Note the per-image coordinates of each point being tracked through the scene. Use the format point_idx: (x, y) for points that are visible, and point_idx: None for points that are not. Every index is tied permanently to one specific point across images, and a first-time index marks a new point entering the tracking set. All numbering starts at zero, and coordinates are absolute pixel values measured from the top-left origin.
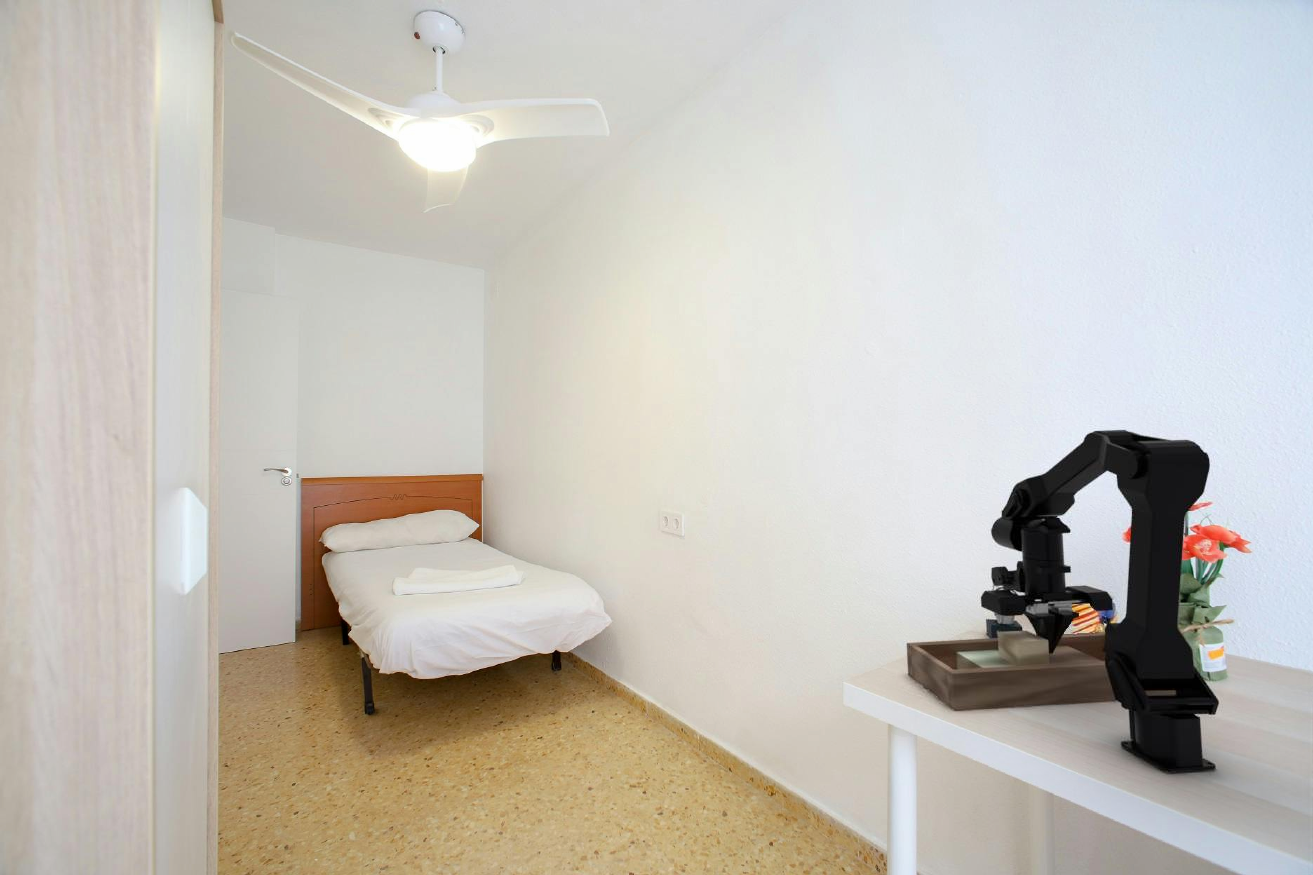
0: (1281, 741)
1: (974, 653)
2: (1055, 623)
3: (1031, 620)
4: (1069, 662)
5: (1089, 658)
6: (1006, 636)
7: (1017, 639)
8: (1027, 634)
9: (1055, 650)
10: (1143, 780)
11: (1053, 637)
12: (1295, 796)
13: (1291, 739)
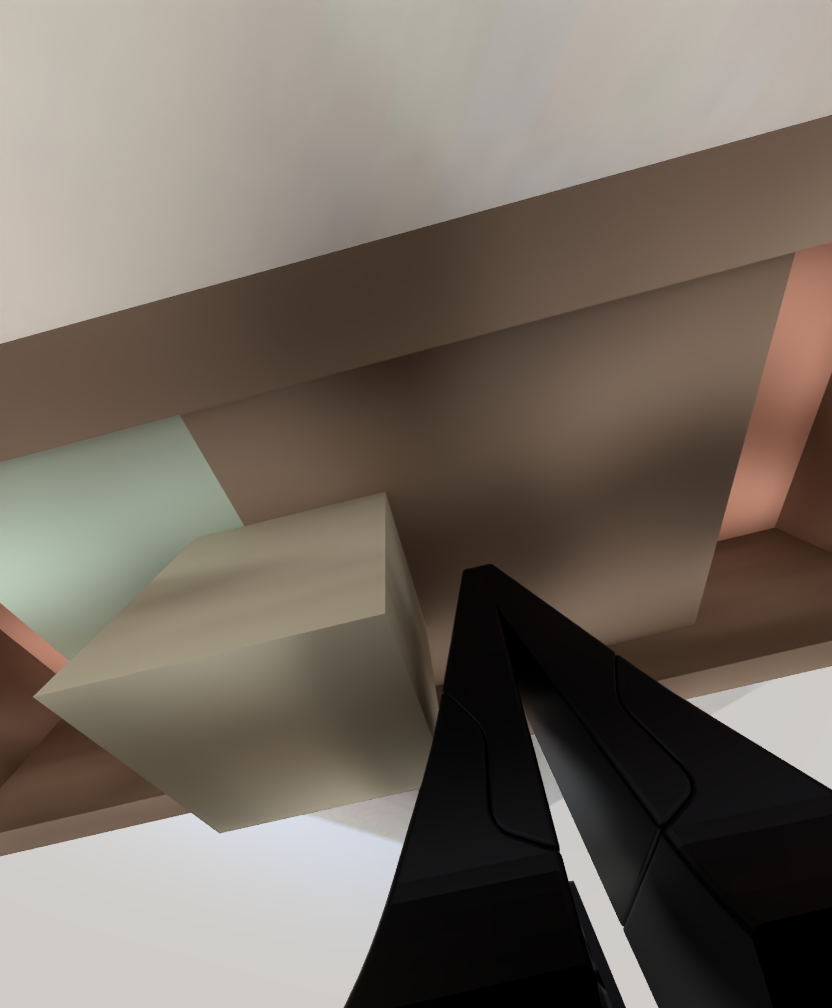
0: (711, 700)
1: (24, 509)
2: (635, 931)
3: (416, 903)
4: (543, 582)
5: (689, 516)
6: (137, 770)
7: (224, 806)
8: (345, 713)
9: (614, 387)
10: (393, 811)
11: (534, 722)
12: (554, 799)
13: (737, 692)
